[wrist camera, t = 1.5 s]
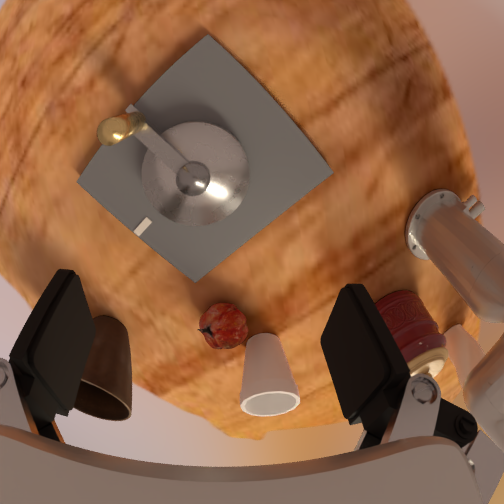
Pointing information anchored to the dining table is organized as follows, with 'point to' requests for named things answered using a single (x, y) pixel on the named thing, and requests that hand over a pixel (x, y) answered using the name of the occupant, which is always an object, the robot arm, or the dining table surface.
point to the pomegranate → (223, 326)
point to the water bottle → (462, 351)
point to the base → (234, 120)
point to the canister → (414, 332)
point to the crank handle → (186, 167)
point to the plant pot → (107, 373)
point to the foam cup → (267, 378)
